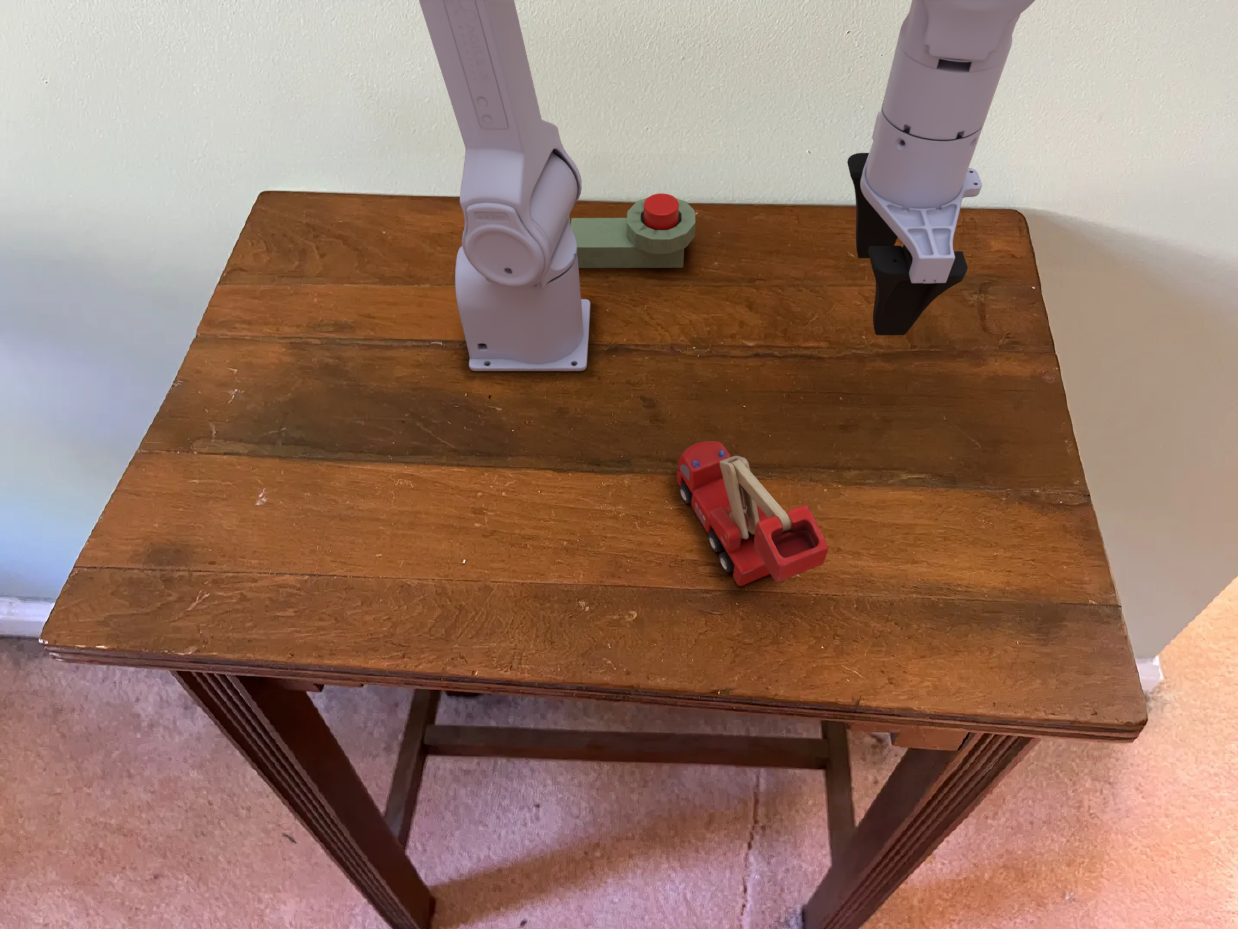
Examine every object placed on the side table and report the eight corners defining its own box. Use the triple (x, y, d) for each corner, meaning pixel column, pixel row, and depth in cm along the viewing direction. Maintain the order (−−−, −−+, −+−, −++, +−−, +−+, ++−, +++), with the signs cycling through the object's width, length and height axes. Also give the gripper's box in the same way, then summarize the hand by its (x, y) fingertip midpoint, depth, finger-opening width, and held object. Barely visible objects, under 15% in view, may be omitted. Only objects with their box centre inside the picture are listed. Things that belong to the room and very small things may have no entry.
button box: (570, 275, 76) (566, 239, 73) (573, 232, 80) (570, 195, 77) (694, 275, 76) (696, 238, 73) (692, 231, 80) (694, 195, 76)
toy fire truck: (711, 464, 64) (720, 376, 56) (807, 619, 56) (833, 542, 49) (670, 479, 63) (674, 392, 55) (761, 638, 56) (781, 564, 48)
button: (643, 231, 74) (643, 215, 73) (643, 209, 76) (643, 192, 75) (678, 231, 74) (679, 214, 73) (678, 209, 76) (678, 192, 74)
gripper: (1039, 190, 45) (961, 369, 56) (975, 44, 53) (918, 223, 64) (901, 191, 45) (850, 369, 56) (859, 45, 53) (823, 224, 64)
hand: (880, 291), depth 60 cm, fingers open, 7 cm apart
